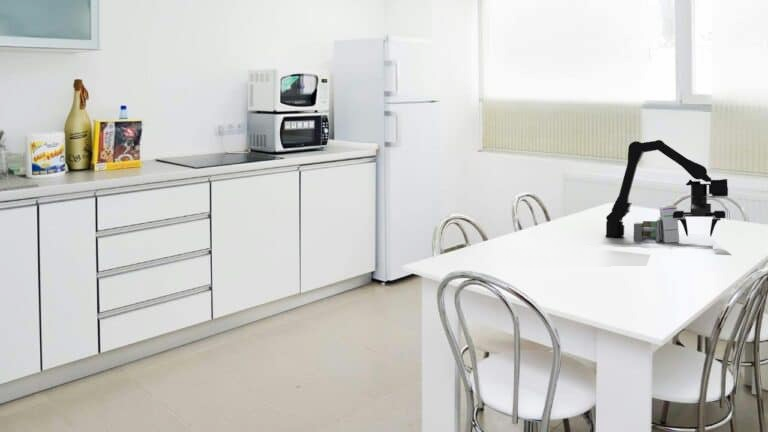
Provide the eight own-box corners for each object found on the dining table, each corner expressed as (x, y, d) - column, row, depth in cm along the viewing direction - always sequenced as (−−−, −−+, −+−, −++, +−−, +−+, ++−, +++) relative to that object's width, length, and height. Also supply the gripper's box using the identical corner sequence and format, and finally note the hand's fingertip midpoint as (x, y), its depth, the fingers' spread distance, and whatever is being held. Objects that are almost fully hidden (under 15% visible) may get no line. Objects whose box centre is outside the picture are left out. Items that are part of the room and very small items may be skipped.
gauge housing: (633, 242, 272) (633, 222, 271) (636, 239, 282) (636, 220, 281) (661, 243, 267) (661, 222, 267) (663, 240, 277) (663, 221, 277)
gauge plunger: (633, 240, 272) (633, 218, 271) (636, 238, 283) (637, 216, 282) (658, 241, 267) (659, 218, 267) (661, 239, 279) (661, 216, 278)
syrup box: (679, 242, 266) (677, 205, 266) (664, 242, 268) (661, 206, 267) (676, 240, 272) (674, 205, 271) (661, 241, 273) (658, 206, 273)
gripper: (672, 197, 261) (672, 237, 262) (725, 197, 253) (725, 238, 254) (673, 196, 271) (673, 235, 272) (725, 196, 263) (725, 236, 264)
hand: (698, 236), depth 265 cm, fingers open, 8 cm apart
